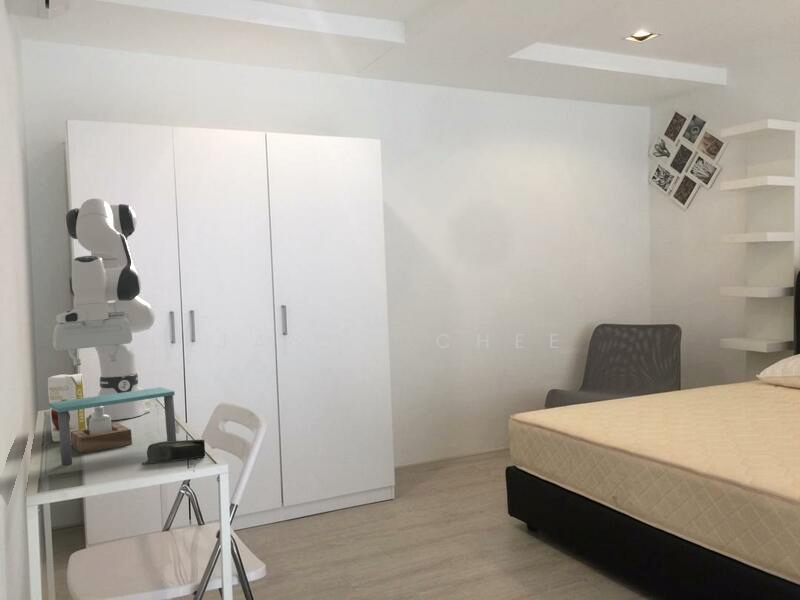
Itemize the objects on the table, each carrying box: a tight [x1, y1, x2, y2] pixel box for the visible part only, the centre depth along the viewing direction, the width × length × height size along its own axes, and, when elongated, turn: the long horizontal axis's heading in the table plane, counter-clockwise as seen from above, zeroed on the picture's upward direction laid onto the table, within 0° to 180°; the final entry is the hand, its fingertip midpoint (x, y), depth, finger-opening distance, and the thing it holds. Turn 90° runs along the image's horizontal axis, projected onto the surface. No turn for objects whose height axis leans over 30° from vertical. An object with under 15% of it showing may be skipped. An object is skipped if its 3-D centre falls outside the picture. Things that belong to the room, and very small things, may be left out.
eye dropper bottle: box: [88, 406, 112, 435], centre depth 194 cm, size 4×6×12 cm
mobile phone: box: [140, 439, 206, 465], centre depth 171 cm, size 5×3×15 cm
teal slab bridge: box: [48, 386, 177, 466], centre depth 185 cm, size 12×29×14 cm, turn 127°
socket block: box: [70, 422, 133, 454], centre depth 194 cm, size 13×13×4 cm
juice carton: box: [47, 373, 88, 443], centre depth 203 cm, size 8×9×19 cm
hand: (95, 363), depth 193 cm, fingers open, 8 cm apart
